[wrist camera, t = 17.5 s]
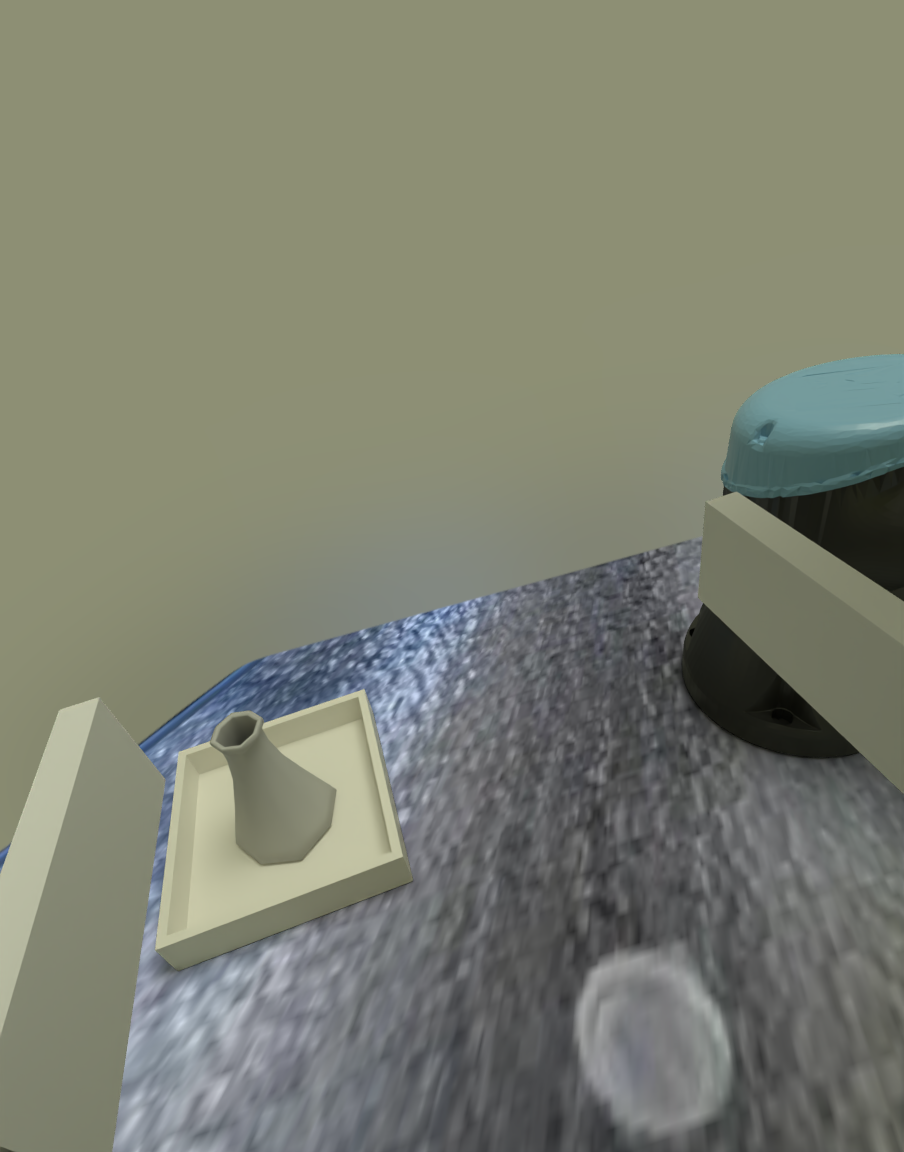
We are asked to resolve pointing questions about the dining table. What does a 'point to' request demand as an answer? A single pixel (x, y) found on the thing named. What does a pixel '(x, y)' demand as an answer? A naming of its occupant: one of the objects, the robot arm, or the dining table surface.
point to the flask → (271, 793)
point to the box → (291, 888)
